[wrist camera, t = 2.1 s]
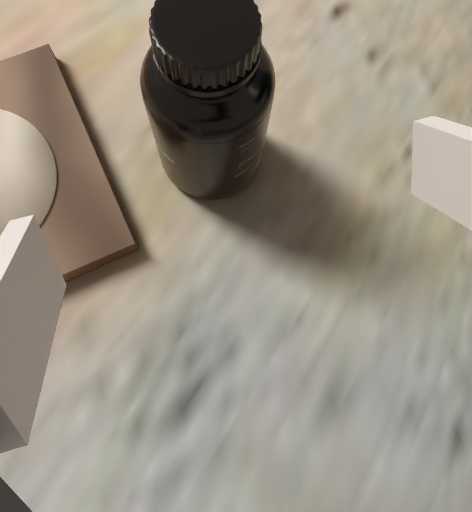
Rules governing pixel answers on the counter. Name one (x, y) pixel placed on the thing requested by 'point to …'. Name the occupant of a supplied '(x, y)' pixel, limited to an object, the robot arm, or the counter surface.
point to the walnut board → (55, 167)
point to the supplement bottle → (208, 93)
